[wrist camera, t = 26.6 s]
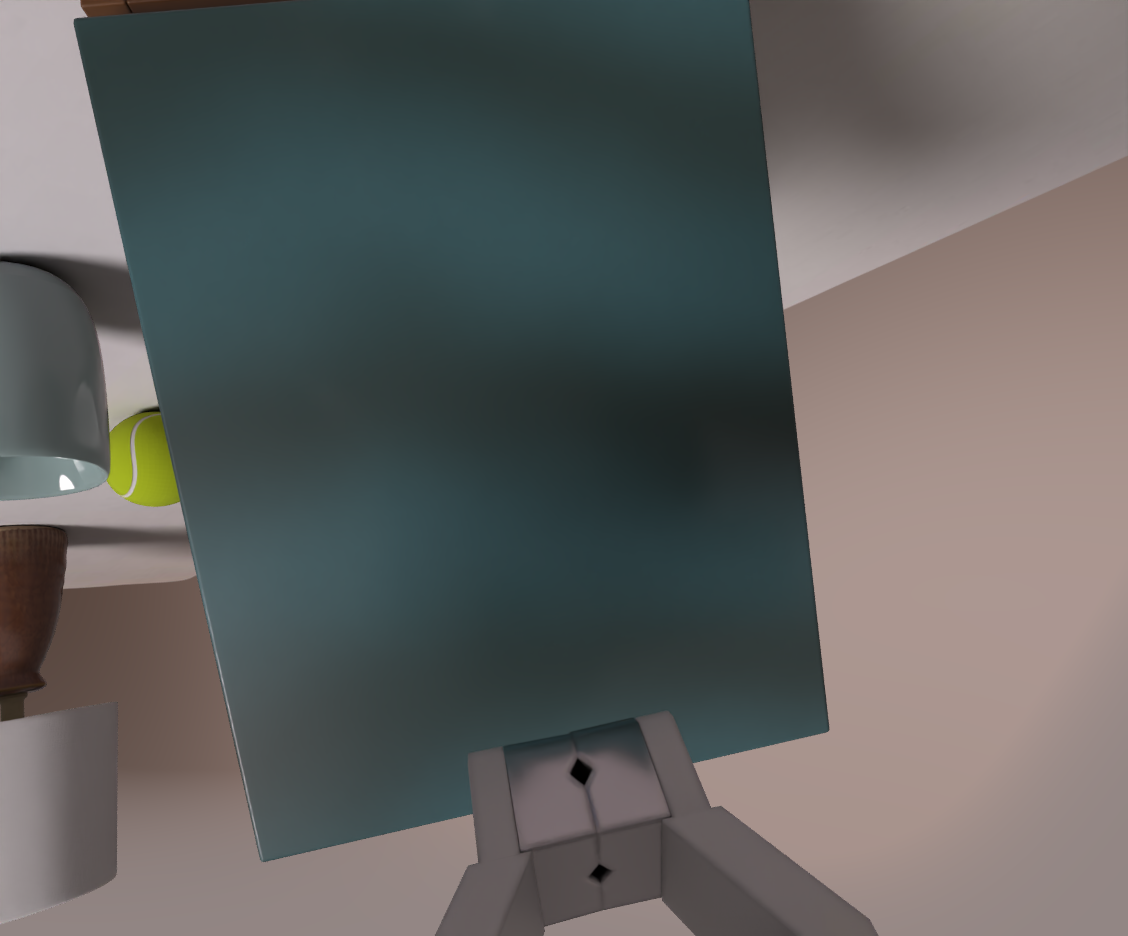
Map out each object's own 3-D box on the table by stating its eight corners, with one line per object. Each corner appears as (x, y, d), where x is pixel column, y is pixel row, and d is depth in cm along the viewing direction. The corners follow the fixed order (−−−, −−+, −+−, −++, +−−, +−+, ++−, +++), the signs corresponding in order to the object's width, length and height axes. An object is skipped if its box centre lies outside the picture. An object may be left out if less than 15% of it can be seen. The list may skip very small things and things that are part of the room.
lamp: (69, 506, 75) (91, 903, 67) (128, 537, 93) (151, 855, 85) (-156, 535, 70) (-159, 968, 62) (-49, 562, 87) (-41, 902, 80)
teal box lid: (814, 718, 18) (831, 733, 17) (268, 841, 16) (259, 864, 15) (731, -18, 16) (746, -39, 15) (91, 37, 14) (69, 16, 13)
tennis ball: (84, 425, 55) (89, 517, 54) (118, 393, 51) (125, 492, 50) (181, 432, 61) (189, 515, 59) (220, 403, 56) (229, 493, 55)
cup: (107, 318, 41) (120, 492, 39) (-72, 316, 38) (-68, 508, 36) (88, 243, 35) (102, 449, 32) (-132, 232, 31) (-132, 463, 29)
